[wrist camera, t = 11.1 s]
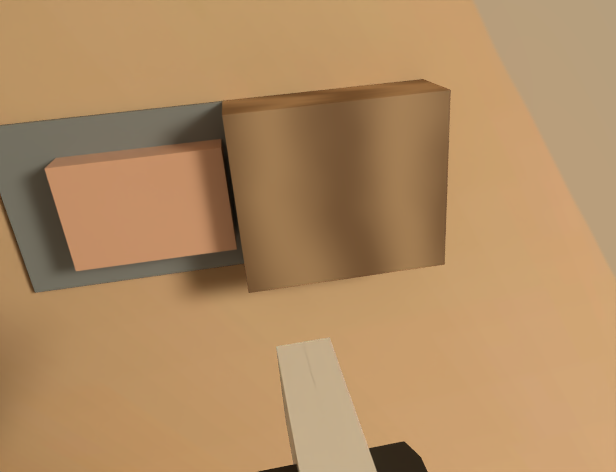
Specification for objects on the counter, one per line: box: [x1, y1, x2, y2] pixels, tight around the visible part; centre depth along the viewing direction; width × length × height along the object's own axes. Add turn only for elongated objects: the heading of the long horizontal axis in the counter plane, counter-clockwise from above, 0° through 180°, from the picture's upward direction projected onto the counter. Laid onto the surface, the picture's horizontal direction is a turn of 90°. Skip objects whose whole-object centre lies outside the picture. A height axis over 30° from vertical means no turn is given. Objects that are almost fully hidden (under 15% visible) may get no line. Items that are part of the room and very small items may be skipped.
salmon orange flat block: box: [44, 139, 237, 271], centre depth 29 cm, size 9×6×2 cm, turn 95°
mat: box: [0, 101, 244, 293], centre depth 30 cm, size 13×10×1 cm
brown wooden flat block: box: [222, 79, 451, 293], centre depth 29 cm, size 12×10×4 cm
